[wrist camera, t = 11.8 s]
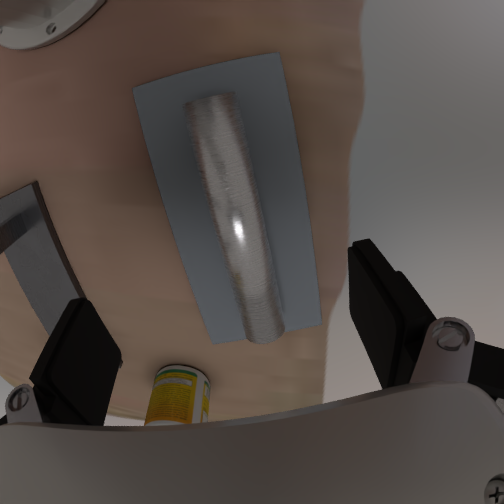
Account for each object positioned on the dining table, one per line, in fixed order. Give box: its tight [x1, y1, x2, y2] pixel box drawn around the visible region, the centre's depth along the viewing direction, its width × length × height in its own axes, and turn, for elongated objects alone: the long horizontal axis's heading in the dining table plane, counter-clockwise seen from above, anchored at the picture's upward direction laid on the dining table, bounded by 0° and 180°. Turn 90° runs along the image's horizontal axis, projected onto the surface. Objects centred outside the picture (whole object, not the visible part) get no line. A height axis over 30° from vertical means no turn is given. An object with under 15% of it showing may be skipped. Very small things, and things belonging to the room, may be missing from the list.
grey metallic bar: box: [182, 91, 285, 344], centre depth 19 cm, size 16×3×3 cm, turn 12°
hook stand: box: [0, 181, 123, 368], centre depth 17 cm, size 18×6×13 cm, turn 12°
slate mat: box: [132, 52, 322, 344], centre depth 21 cm, size 20×9×1 cm, turn 12°
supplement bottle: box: [144, 365, 210, 426], centre depth 24 cm, size 5×5×10 cm
